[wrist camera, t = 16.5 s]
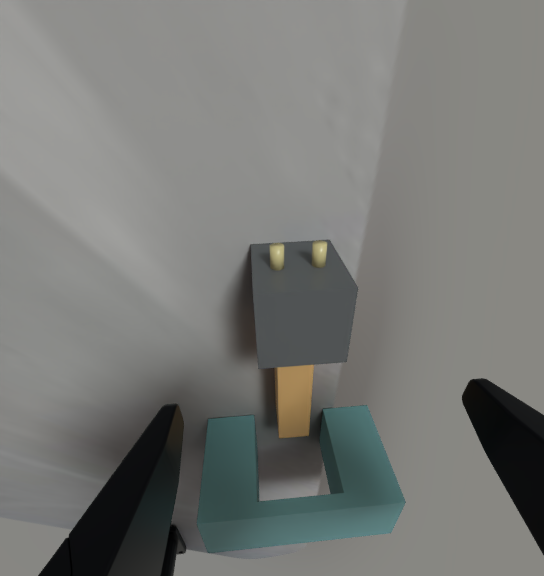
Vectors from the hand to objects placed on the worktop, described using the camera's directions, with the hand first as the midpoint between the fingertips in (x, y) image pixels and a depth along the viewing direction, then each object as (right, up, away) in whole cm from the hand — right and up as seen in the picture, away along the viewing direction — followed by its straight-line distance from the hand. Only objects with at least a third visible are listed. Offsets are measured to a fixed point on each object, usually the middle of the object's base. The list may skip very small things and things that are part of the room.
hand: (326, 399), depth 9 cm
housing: (0, -8, +15) cm, 16 cm away
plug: (-1, +1, +9) cm, 9 cm away
